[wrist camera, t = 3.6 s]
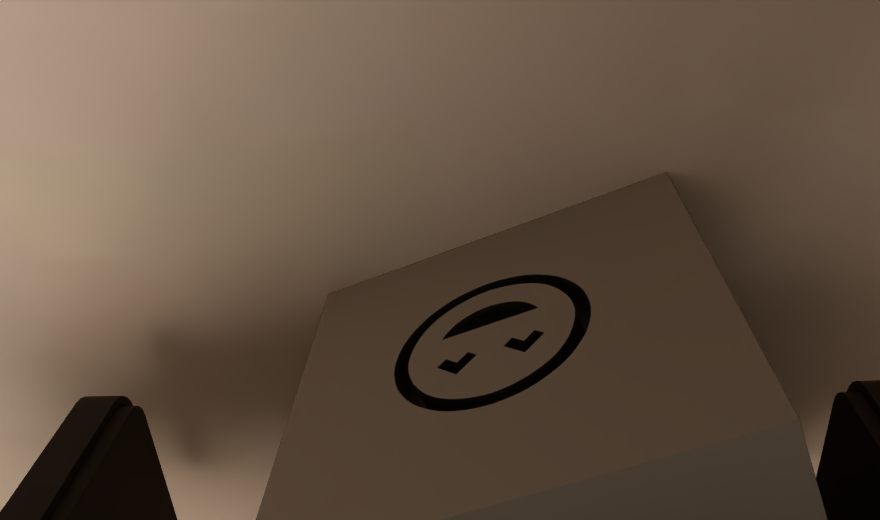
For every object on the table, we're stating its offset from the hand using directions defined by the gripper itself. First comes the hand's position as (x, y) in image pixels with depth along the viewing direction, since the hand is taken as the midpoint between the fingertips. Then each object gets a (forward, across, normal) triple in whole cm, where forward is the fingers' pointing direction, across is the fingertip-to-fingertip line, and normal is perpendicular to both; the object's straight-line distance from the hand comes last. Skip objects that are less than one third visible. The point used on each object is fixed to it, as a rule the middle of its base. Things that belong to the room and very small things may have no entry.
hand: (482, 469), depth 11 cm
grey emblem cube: (+2, -1, 0) cm, 2 cm away
